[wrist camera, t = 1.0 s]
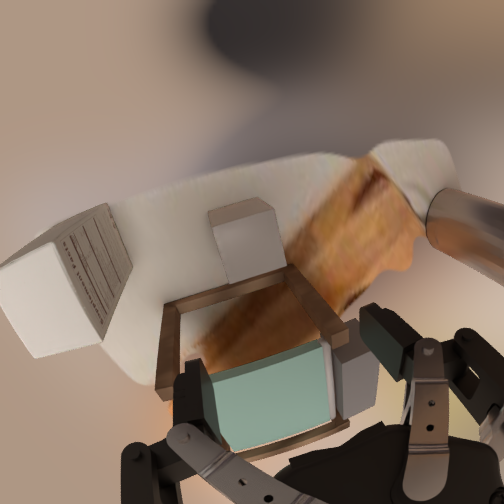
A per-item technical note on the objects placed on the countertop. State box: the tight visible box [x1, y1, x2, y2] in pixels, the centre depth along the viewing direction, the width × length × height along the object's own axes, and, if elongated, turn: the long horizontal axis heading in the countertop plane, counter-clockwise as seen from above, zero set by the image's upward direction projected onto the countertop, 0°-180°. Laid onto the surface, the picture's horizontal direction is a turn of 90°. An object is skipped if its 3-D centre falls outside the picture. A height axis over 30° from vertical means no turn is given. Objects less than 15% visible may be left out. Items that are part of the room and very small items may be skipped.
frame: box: [155, 263, 350, 462], centre depth 27 cm, size 14×15×12 cm
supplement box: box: [0, 203, 133, 359], centre depth 19 cm, size 7×7×13 cm
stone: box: [208, 197, 287, 284], centre depth 25 cm, size 5×5×6 cm
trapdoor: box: [209, 318, 380, 452], centre depth 23 cm, size 15×12×4 cm
